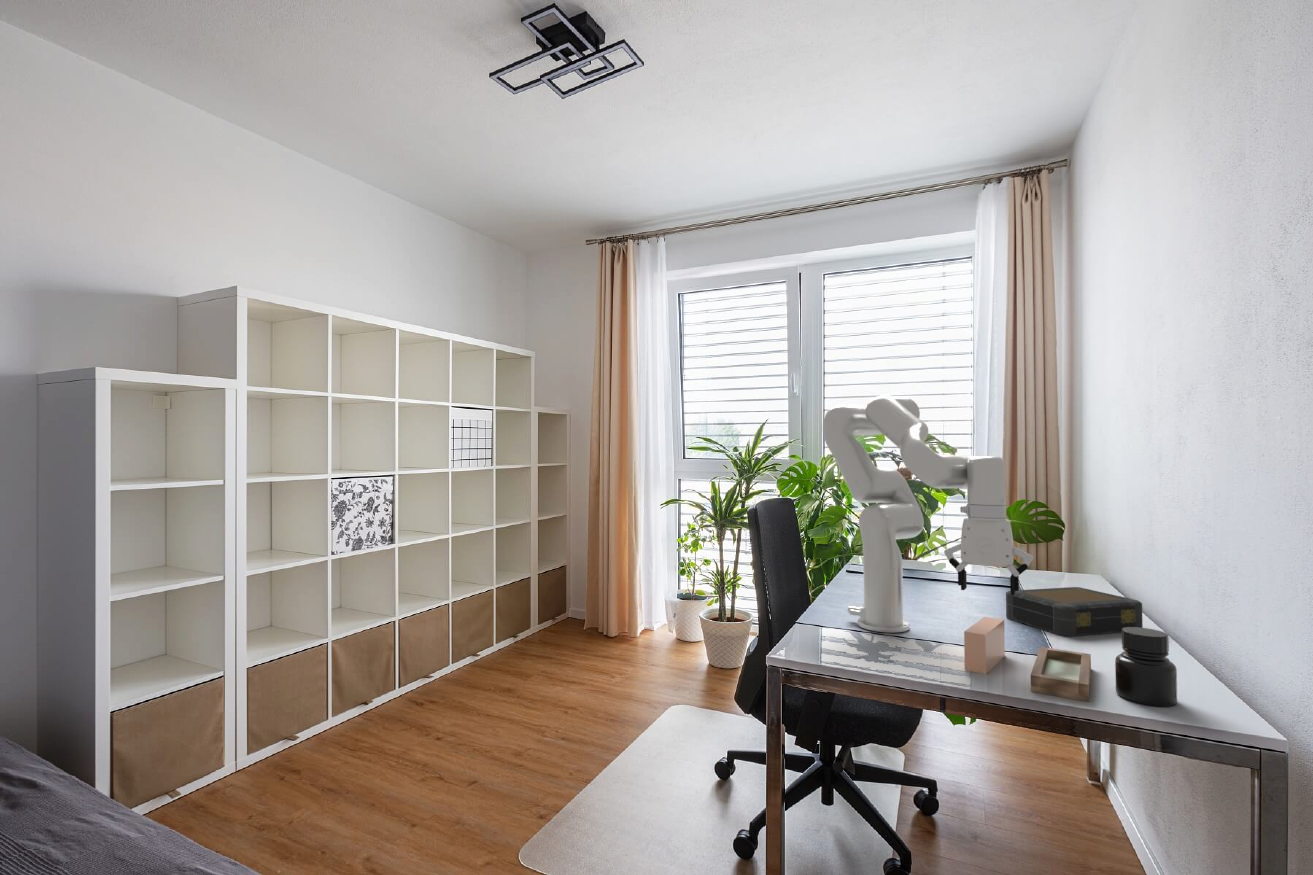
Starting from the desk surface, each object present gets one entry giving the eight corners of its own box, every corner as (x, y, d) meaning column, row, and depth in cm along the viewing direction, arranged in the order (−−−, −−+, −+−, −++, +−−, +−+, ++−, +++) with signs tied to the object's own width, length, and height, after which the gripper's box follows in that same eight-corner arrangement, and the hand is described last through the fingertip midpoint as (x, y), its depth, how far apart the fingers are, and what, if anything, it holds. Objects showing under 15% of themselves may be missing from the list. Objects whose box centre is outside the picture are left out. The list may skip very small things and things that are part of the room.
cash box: (1076, 613, 183) (1075, 585, 183) (1146, 632, 163) (1145, 601, 164) (1001, 618, 177) (1001, 589, 177) (1065, 638, 157) (1064, 606, 158)
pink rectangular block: (964, 670, 133) (964, 631, 133) (984, 652, 145) (984, 616, 146) (985, 674, 131) (985, 634, 131) (1004, 656, 143) (1004, 619, 143)
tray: (1030, 691, 121) (1030, 674, 121) (1040, 660, 139) (1040, 646, 139) (1088, 701, 116) (1088, 684, 116) (1090, 668, 134) (1090, 654, 134)
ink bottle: (1192, 706, 114) (1191, 637, 114) (1151, 710, 112) (1150, 640, 112) (1140, 687, 123) (1139, 623, 124) (1102, 690, 121) (1100, 626, 122)
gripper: (940, 512, 143) (942, 590, 143) (1031, 515, 134) (1032, 599, 133) (946, 509, 150) (948, 584, 149) (1033, 513, 140) (1035, 593, 140)
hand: (988, 591), depth 141 cm, fingers open, 9 cm apart
